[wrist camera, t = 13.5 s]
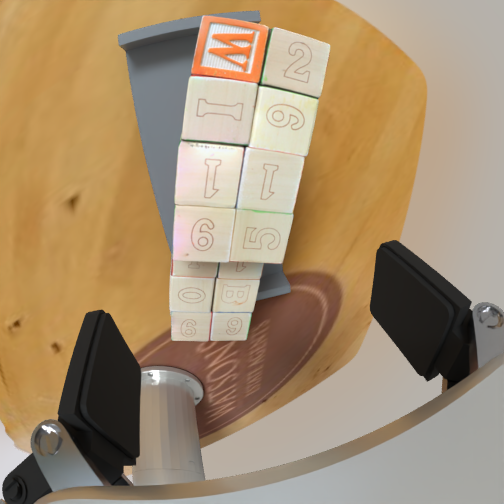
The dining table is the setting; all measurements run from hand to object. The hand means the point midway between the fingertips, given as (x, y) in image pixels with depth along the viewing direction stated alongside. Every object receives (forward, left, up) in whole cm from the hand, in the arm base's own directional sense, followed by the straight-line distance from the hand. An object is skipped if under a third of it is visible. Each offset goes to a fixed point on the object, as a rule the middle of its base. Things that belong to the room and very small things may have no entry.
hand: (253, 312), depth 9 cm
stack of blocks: (0, 0, -18) cm, 18 cm away
